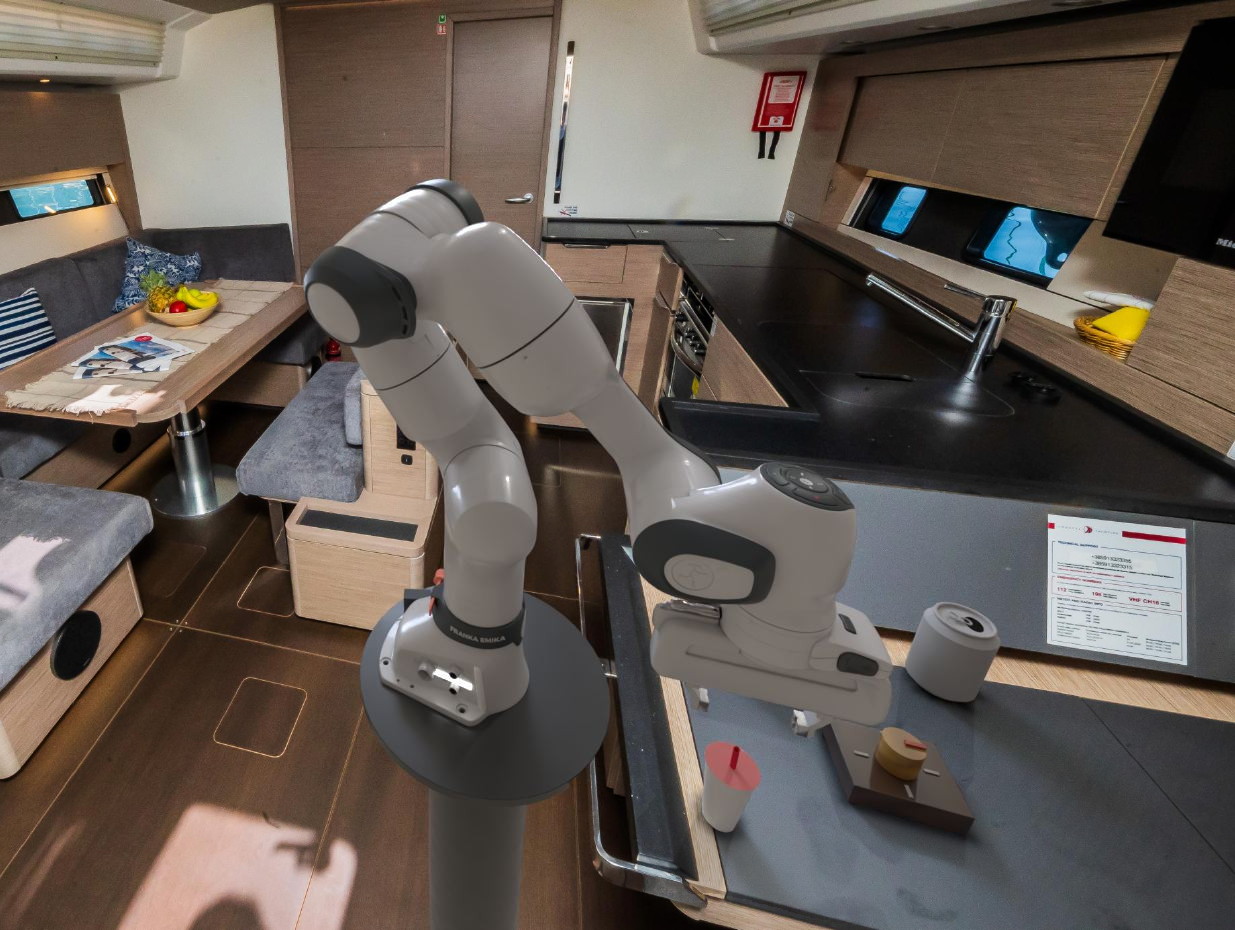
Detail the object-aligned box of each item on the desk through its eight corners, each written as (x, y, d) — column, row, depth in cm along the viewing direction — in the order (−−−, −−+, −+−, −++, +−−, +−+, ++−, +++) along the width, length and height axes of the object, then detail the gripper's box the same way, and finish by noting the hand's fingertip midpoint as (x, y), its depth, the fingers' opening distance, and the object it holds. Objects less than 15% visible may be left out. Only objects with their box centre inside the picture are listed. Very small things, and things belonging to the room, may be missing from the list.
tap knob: (882, 774, 68) (891, 752, 66) (868, 742, 71) (876, 720, 70) (924, 785, 66) (934, 763, 65) (908, 752, 70) (917, 731, 68)
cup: (718, 849, 64) (737, 778, 60) (682, 799, 69) (697, 730, 64) (756, 833, 65) (778, 762, 61) (718, 785, 70) (736, 717, 66)
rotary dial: (847, 802, 68) (854, 784, 67) (822, 732, 76) (828, 715, 74) (966, 836, 64) (976, 818, 63) (927, 759, 72) (934, 741, 71)
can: (982, 716, 77) (1014, 649, 72) (908, 691, 80) (935, 626, 76) (966, 673, 83) (995, 609, 78) (898, 652, 86) (922, 590, 82)
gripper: (657, 619, 57) (643, 716, 62) (917, 672, 50) (877, 778, 55) (653, 575, 62) (639, 668, 67) (886, 618, 55) (852, 718, 60)
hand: (748, 718), depth 61 cm, fingers open, 8 cm apart
